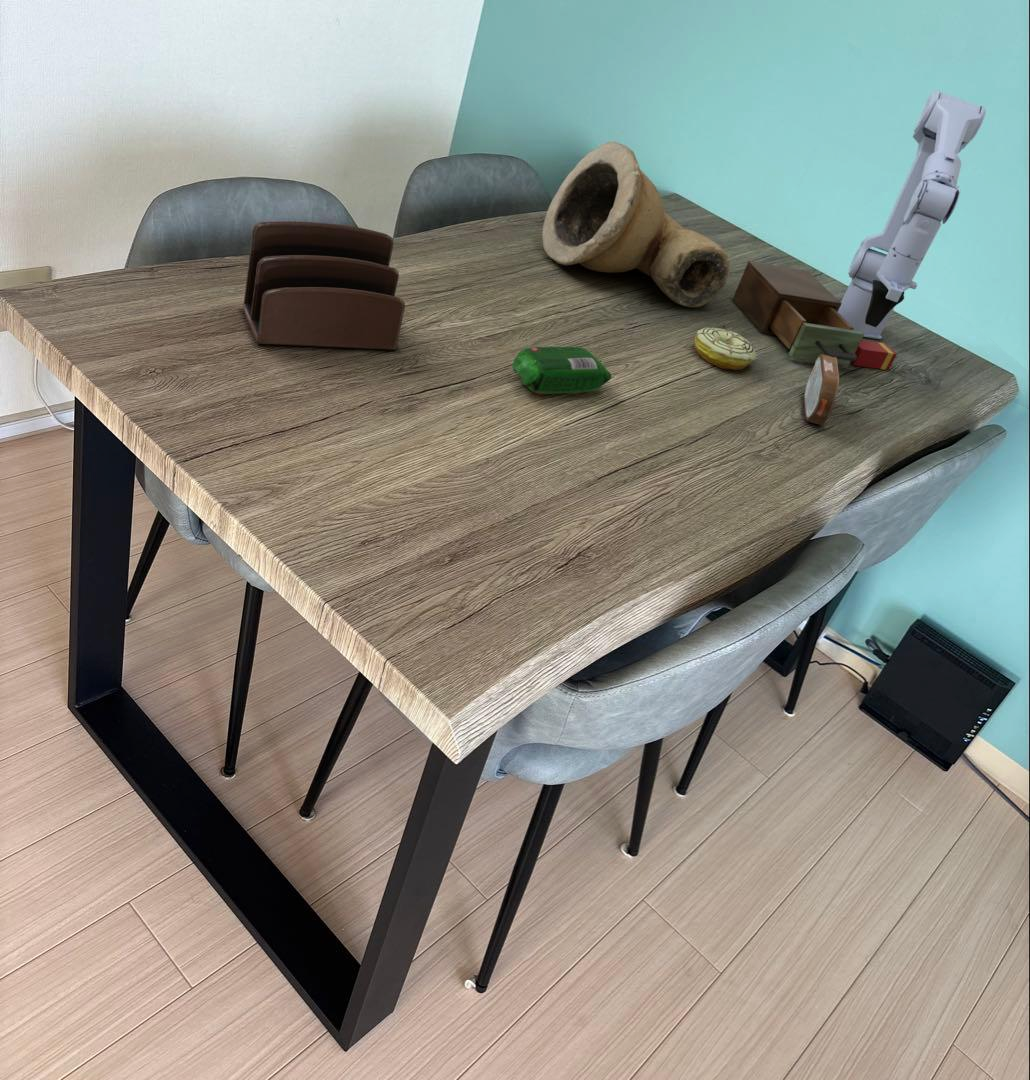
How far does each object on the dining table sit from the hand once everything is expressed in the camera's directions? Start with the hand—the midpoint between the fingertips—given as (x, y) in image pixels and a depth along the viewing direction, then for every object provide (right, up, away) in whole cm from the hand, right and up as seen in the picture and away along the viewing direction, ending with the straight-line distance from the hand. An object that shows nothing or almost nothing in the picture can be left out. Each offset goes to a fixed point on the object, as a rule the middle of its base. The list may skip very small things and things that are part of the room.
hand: (870, 324), depth 182 cm
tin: (-15, -17, -15) cm, 28 cm away
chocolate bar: (+2, -5, +9) cm, 10 cm away
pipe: (-42, +12, +12) cm, 45 cm away
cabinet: (-13, +4, +14) cm, 19 cm away
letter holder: (-91, -9, -38) cm, 99 cm away
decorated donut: (-28, -7, -8) cm, 30 cm away
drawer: (-10, -4, +3) cm, 11 cm away
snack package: (-57, -16, -32) cm, 67 cm away
